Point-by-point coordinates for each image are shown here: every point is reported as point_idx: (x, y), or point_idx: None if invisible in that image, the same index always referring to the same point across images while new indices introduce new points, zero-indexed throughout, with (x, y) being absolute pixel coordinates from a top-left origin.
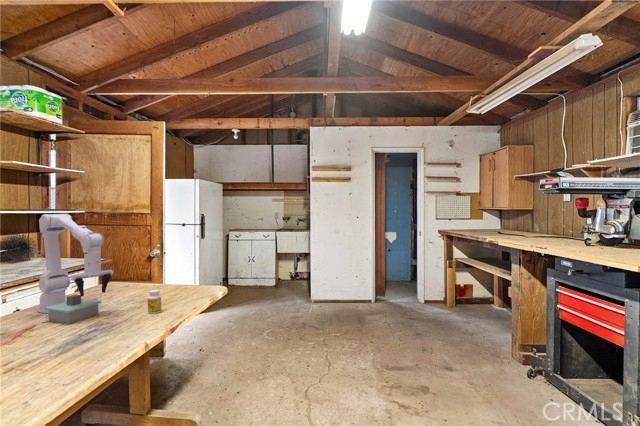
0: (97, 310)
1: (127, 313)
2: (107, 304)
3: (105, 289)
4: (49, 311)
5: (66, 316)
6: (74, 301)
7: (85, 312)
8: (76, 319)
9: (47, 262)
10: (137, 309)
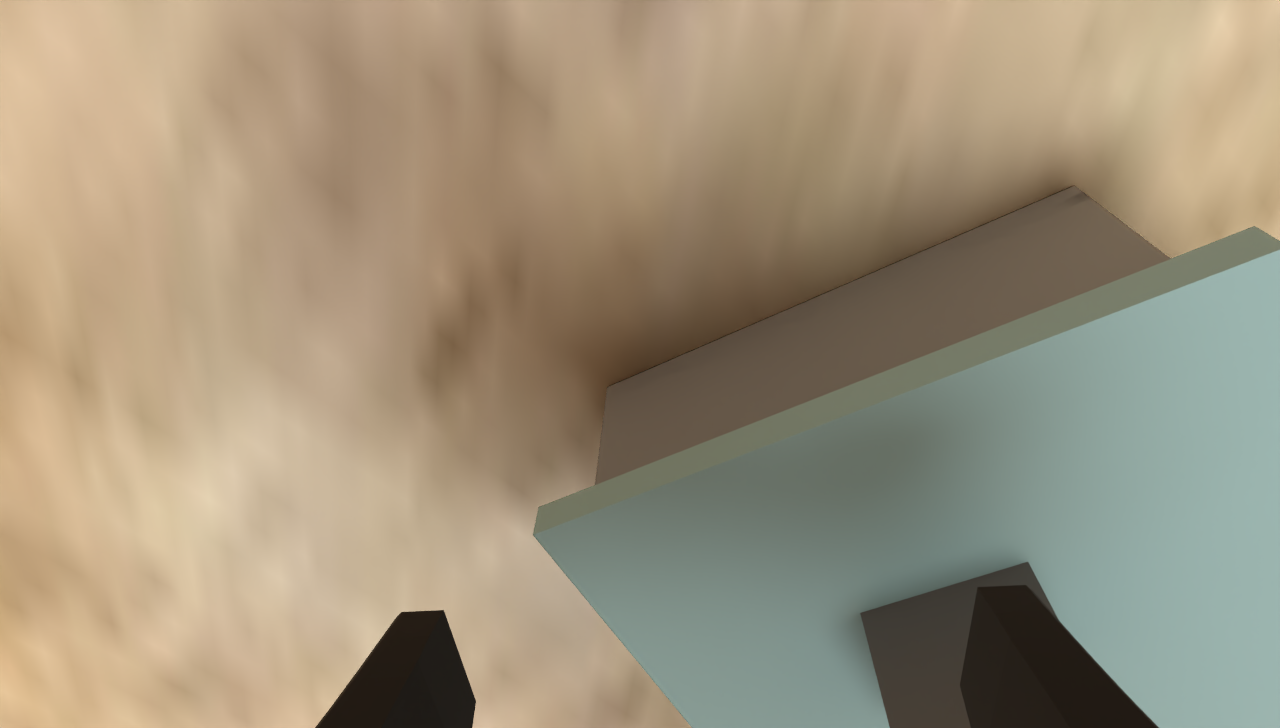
0: (615, 427)
1: (168, 112)
2: None
3: (353, 680)
4: None
5: None
6: None
7: (818, 363)
8: (962, 257)
9: None
10: (21, 235)
